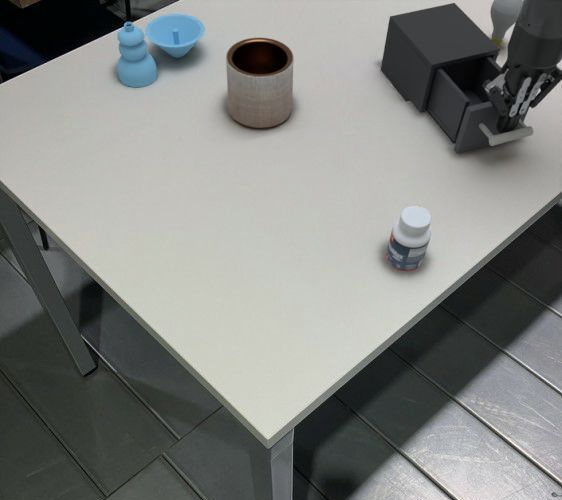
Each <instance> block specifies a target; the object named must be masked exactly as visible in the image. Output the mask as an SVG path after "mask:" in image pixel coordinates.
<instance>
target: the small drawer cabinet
mask: <svg viewBox="0 0 562 500" xmlns="http://www.w3.org/2000/svg"><path fill="white" fill-rule="evenodd" d="M500 51H501V48H500V47H498V46H497V45H496V44H495V43H494V42H493V41H492V40H491V38H490V37H489V36H488V35H487V34H486V33H485V32H484V31H483V29H481V28H480V27H479V26H478V25H477V24H476V23H475V22H474V20H472V19H471V18H470V17H469V16H468V15H467V14H466V13H465V11H463V10H462V8H460V6H458V5H457V4H456V3H455V2H451V3H448V4H442V5H437V6H433V7H428V8H424V9H423V8H422V9H419V10H413V11H409V12H404V13H399V14H395V15H390V16H389V19H388V25H387V30H386V36H385V43H384V48H383V54H382V60H381V67H380V70H381V72H382V73H383V74H384V76H385V77H386V78H387V80H388V81H389V83H391V84H392V86H393V87H394V88H395V89H396V90H397V92H398V93H399V94H400V95H401V97H402V98H403V99H404V101H405V102H411V104H412V105H413V106H414V107H415V108H416V110H417V111H418V112H419V114H422V113H425V110H426V108H425V107H426V103H427V99H428V95H429V91H430V87H431V83H432V79H433V75H434V71H435V68H438V67H443V66H447V65H451V64H456V63H460V62H464V61H468V60H473V59H477V58H481V57H485V56H490V57H491V58H492V59H493V60H494V61H495V62H496V63H497V59H498V56H499V53H500Z"/></svg>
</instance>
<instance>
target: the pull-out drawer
mask: <svg viewBox="0 0 562 500" xmlns="http://www.w3.org/2000/svg"><path fill="white" fill-rule="evenodd" d="M501 68H502V66H500V64H498V63H497V61H496V62H495V61H494V60H493V59H492V58H491V57H490V56H485V57H481V58H477V59H473V60H468V61H464V62H460V63H456V64H451V65H447V66H443V67H438V68H435V71H434V75H433V79H432V83H431V87H430V91H429V95H428V99H427V103H426V107H425V110H427V111H428V113H429V114H430V115H431V116H432V118H433V119H434V120H435V121H436V122H437V123H438V125H439V126H440V127H441V128H442V130H443V131H444V132H445V134H446V135H447V136H448V137H449V139H451V141H452V142H453V143H454V147H453V151H454V152H455V153H456V155H458V154H462V153H466V152H469V151H473V150H478V149H481V148H485V147H488V146H491V147H493V146H497V145H501V144H504V143H508V142H512V141H516V140H519V139H523V138H527V137H531V136H532V135H533V134H534V128H533V127H532V126H531V125H528V126H527V125H526V124H525V123H524V121H525V119H526V117H527V115H528V112H529V109H530V107H529V108H527V110H526V111H525V113H523V114H522V115H521V117H520V120H519V122H518V125H517V127H516V129H515V130H513V131H509V132H506V133H502V134H500V133H499V132H498V130H497V129H496V124H497V122H498V119H499V116H500V114H499V113H498V111H497V110H496V109H495V108H494V107H493V106H492V104H491V102H490V100H489V98H488V96H487V94H486V92H485V90H484V88H483V86H482V85H483V83H484V82H485V81H486V80H490V81H491V82H492V81H493V80H494V79H495V78H497V77H498V76H499V75H500V71H501ZM503 88H504V85H503ZM502 91H503V90H502ZM501 96H502V98H503V97H504V94H502V95H501ZM510 103H511V102H510Z"/></svg>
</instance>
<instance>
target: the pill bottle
mask: <svg viewBox="0 0 562 500" xmlns="http://www.w3.org/2000/svg"><path fill="white" fill-rule="evenodd" d="M431 222H432V214H431V213H430V211H429V210H428V209H427V208H425V207H422V206H420V205H409V206H407V207H405V208H404V209H403V210H402V211H401V214H400V217H399V218H398V219H397V220H396V221H395V222H394V224H393V226H392V229H391V231H390V235H389V236H390V237H389V241H388V245H387V248H386V253H385V258H386V261H387V262H388V264H389V265H390V266H391V267H393V268H394V269H396V270H398V271H403V272H410V271H414V270H417V269H418V268H420V267H421V265H422V264H423V263H424V262H423V261H424V259H425V256H426V253H427V250H428V247H429V243H430V241H431V237H432V229H431Z"/></svg>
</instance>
